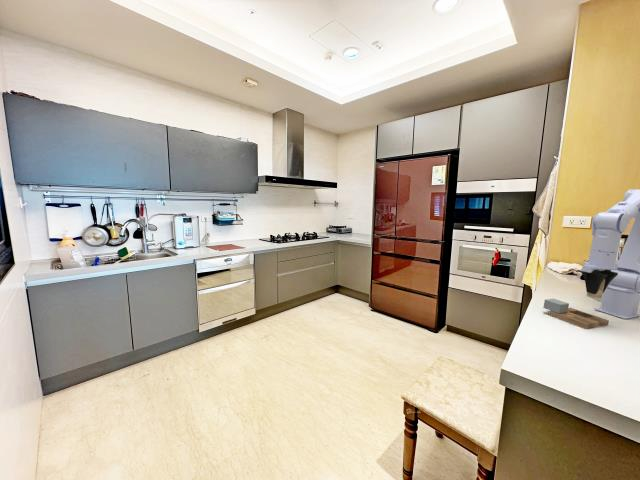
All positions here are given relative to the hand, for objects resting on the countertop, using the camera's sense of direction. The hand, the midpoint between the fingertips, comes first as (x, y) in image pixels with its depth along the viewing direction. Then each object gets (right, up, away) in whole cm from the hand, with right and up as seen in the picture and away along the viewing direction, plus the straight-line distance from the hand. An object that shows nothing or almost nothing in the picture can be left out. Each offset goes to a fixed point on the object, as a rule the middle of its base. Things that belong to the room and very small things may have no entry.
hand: (594, 292), depth 82 cm
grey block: (-8, -7, +5) cm, 12 cm away
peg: (0, -1, 0) cm, 1 cm away
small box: (+27, -8, +23) cm, 36 cm away
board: (-3, -9, +2) cm, 10 cm away
